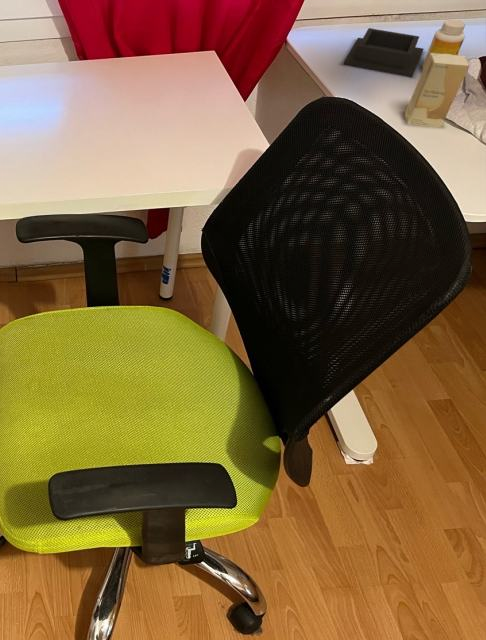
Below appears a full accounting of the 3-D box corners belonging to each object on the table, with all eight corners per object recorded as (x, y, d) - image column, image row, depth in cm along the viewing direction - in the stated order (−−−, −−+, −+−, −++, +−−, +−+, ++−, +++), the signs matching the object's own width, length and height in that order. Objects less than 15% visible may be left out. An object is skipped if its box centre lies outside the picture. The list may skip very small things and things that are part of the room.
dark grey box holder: (422, 53, 152) (429, 34, 149) (411, 78, 144) (418, 59, 141) (356, 41, 157) (362, 23, 154) (342, 65, 149) (348, 47, 146)
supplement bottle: (451, 79, 143) (472, 29, 136) (422, 77, 144) (442, 27, 137) (447, 67, 147) (467, 18, 139) (419, 65, 148) (438, 16, 141)
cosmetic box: (406, 125, 131) (431, 62, 122) (403, 114, 134) (428, 52, 125) (443, 128, 130) (471, 64, 121) (439, 117, 132) (466, 54, 124)
